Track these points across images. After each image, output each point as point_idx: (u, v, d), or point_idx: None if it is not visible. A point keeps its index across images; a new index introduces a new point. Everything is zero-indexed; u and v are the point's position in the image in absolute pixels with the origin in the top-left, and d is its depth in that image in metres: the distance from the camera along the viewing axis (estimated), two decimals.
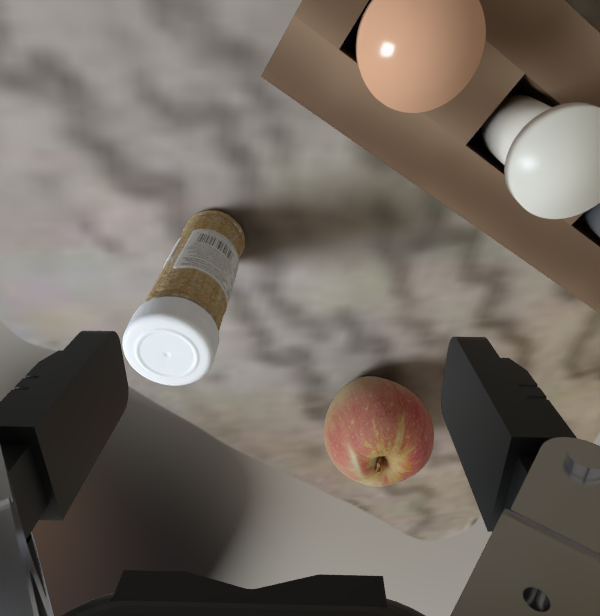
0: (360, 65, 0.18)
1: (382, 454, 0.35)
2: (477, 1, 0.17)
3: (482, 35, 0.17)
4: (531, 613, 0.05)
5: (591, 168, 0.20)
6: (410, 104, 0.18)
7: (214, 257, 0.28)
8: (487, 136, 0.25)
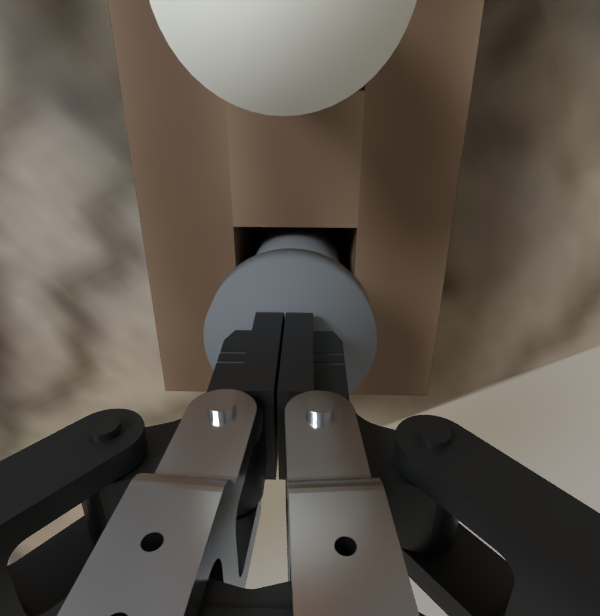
0: None
1: None
2: None
3: None
4: (347, 560, 0.05)
5: (307, 20, 0.08)
6: None
7: None
8: None
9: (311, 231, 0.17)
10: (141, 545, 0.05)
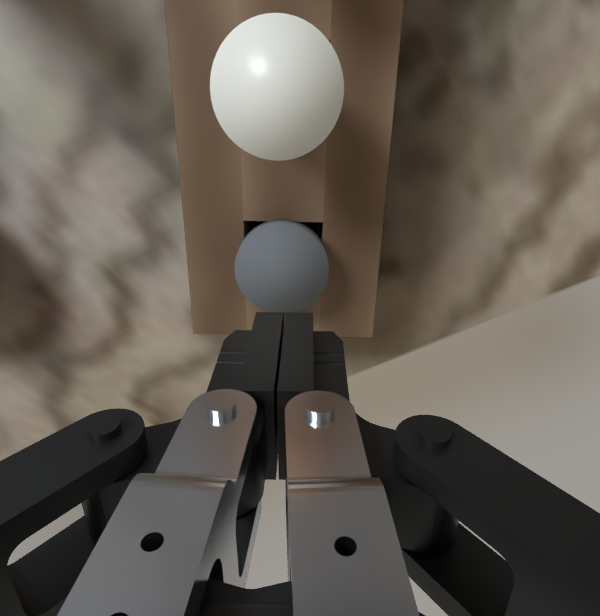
0: None
1: None
2: None
3: None
4: (347, 560, 0.05)
5: (289, 115, 0.17)
6: None
7: None
8: None
9: None
10: (141, 544, 0.05)
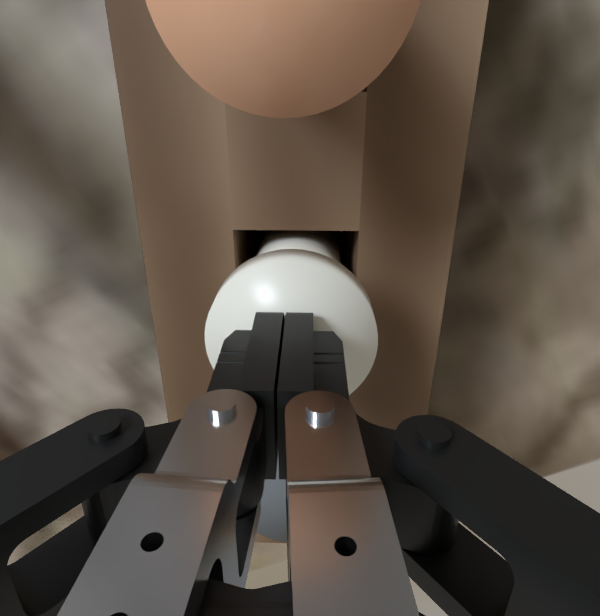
0: None
1: None
2: (411, 16, 0.08)
3: (368, 75, 0.08)
4: (347, 560, 0.05)
5: None
6: (179, 33, 0.08)
7: None
8: (269, 233, 0.17)
9: None
10: (141, 545, 0.05)
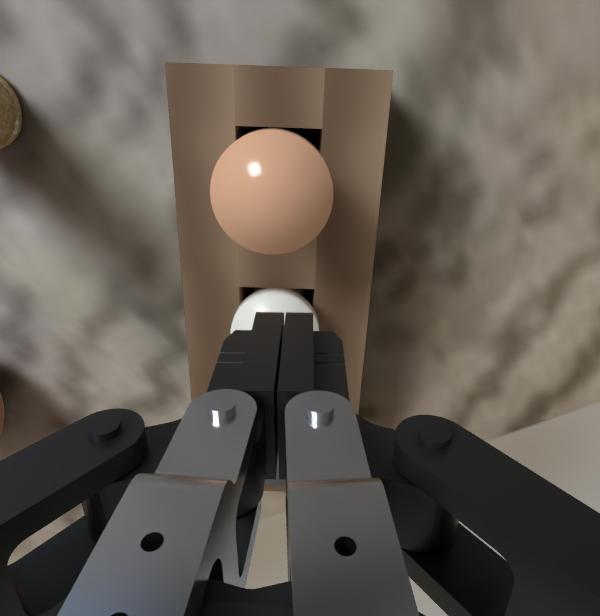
0: (224, 153, 0.17)
1: None
2: (327, 217, 0.18)
3: (309, 239, 0.18)
4: (347, 560, 0.05)
5: None
6: (226, 220, 0.18)
7: None
8: None
9: None
10: (141, 544, 0.05)
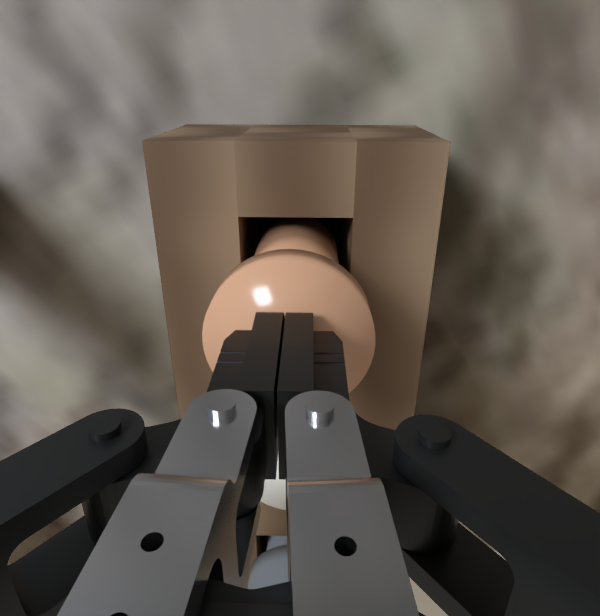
0: (220, 292, 0.12)
1: None
2: (366, 368, 0.13)
3: None
4: (347, 560, 0.05)
5: None
6: None
7: None
8: None
9: None
10: (141, 544, 0.05)
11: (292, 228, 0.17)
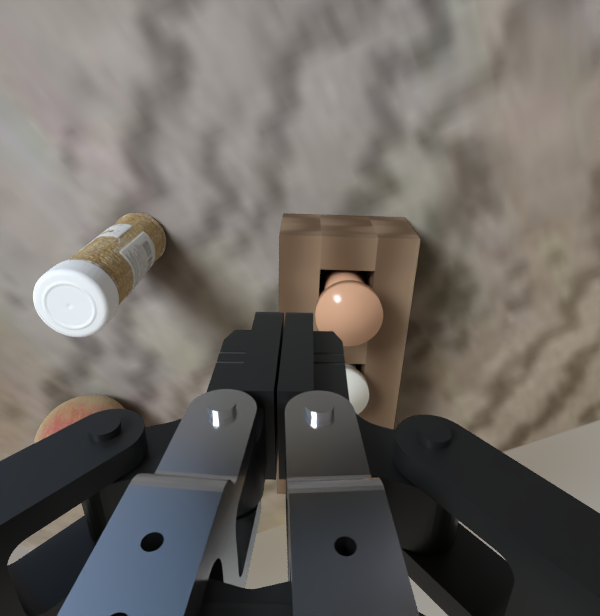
0: (325, 296, 0.32)
1: None
2: (379, 327, 0.33)
3: (368, 338, 0.33)
4: (347, 560, 0.05)
5: None
6: (323, 328, 0.33)
7: (142, 267, 0.34)
8: None
9: None
10: (141, 544, 0.05)
11: None
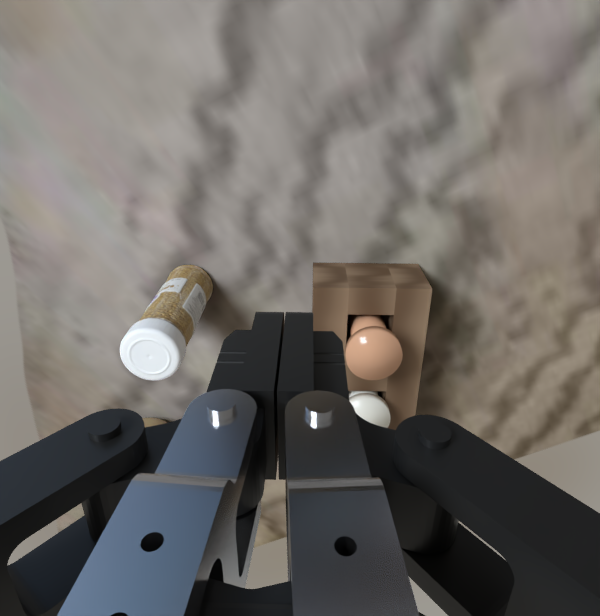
0: (354, 340, 0.38)
1: None
2: (399, 364, 0.39)
3: (390, 373, 0.39)
4: (347, 560, 0.05)
5: None
6: (352, 366, 0.39)
7: (198, 315, 0.41)
8: None
9: None
10: (141, 544, 0.05)
11: None
